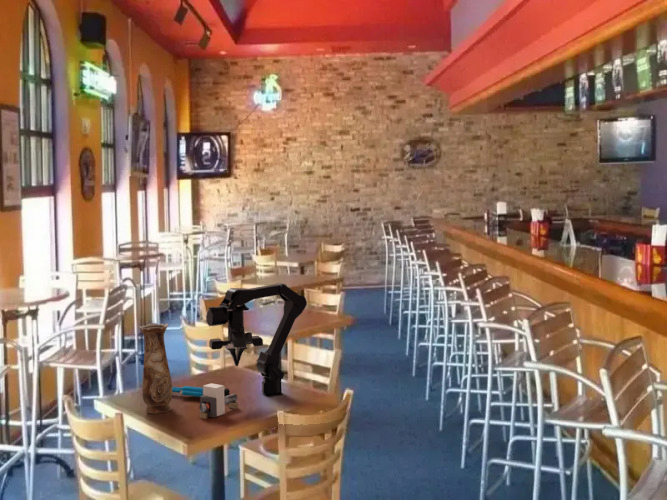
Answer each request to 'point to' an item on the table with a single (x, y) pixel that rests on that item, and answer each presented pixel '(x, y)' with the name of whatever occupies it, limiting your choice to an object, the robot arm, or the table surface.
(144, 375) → the vase
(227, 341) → the robot arm
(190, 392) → the toy
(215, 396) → the white block
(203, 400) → the gray square plate
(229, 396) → the metal cylinder
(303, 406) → the table surface
